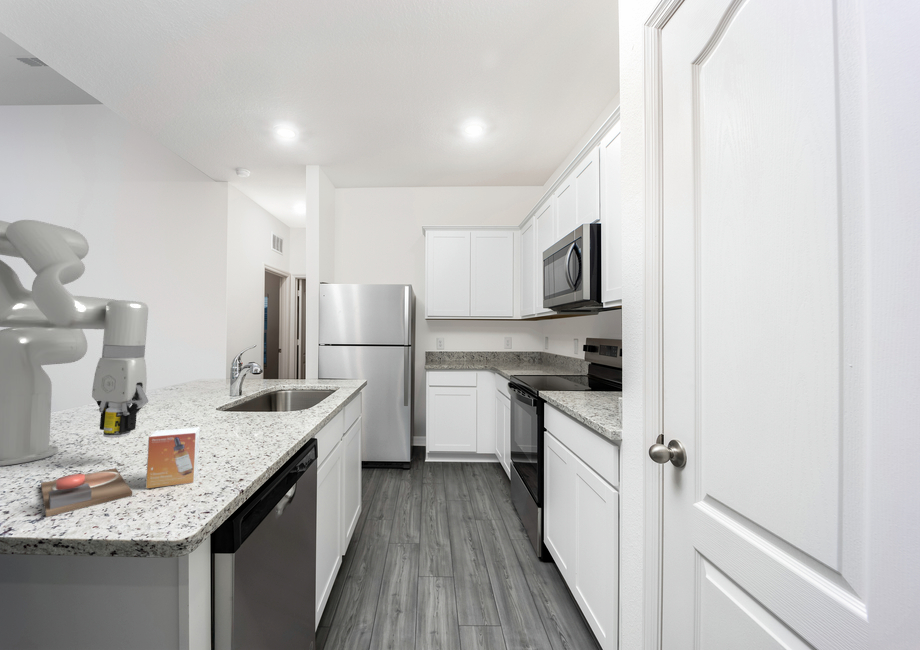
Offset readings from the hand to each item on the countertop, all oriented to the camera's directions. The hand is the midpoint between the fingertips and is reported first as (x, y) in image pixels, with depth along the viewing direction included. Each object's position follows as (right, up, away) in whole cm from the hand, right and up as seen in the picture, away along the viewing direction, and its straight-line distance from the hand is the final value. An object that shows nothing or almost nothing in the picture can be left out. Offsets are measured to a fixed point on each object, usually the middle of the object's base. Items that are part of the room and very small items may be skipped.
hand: (117, 428), depth 88 cm
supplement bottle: (0, -2, 0) cm, 2 cm away
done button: (+10, -4, -20) cm, 23 cm away
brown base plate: (+8, -8, -15) cm, 19 cm away
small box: (+21, -9, -10) cm, 24 cm away
